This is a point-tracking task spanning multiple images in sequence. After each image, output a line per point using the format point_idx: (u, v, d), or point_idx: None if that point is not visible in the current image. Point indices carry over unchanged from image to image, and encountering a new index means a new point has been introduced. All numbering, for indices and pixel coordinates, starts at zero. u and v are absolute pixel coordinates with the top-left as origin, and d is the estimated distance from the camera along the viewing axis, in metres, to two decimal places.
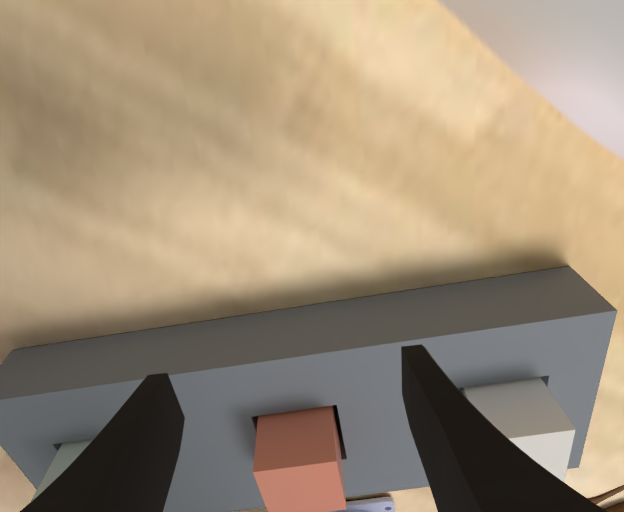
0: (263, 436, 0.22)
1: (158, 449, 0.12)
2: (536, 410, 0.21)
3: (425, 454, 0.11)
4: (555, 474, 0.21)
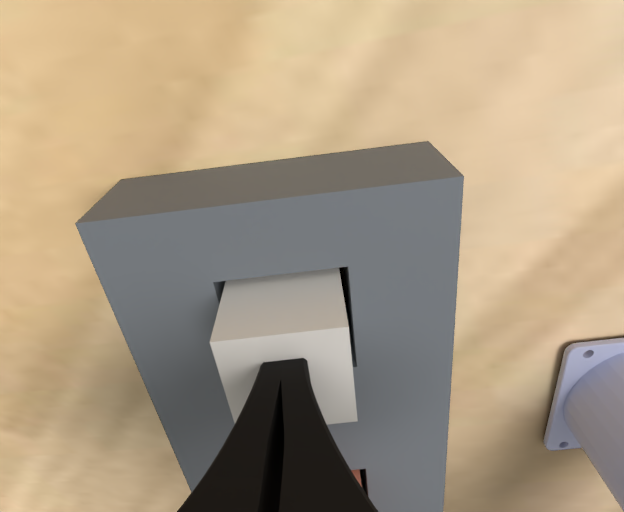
0: None
1: None
2: None
3: None
4: (325, 343, 0.12)
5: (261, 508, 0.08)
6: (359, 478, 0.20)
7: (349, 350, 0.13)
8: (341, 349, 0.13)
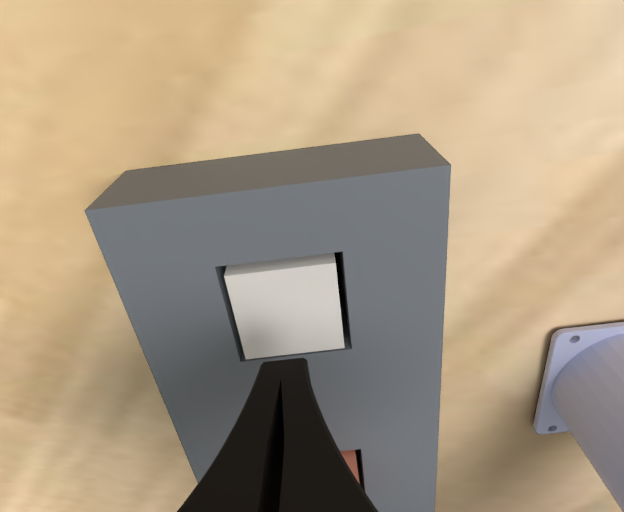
0: None
1: None
2: None
3: None
4: (317, 277, 0.15)
5: (261, 508, 0.08)
6: (355, 458, 0.21)
7: (336, 283, 0.16)
8: (329, 282, 0.16)
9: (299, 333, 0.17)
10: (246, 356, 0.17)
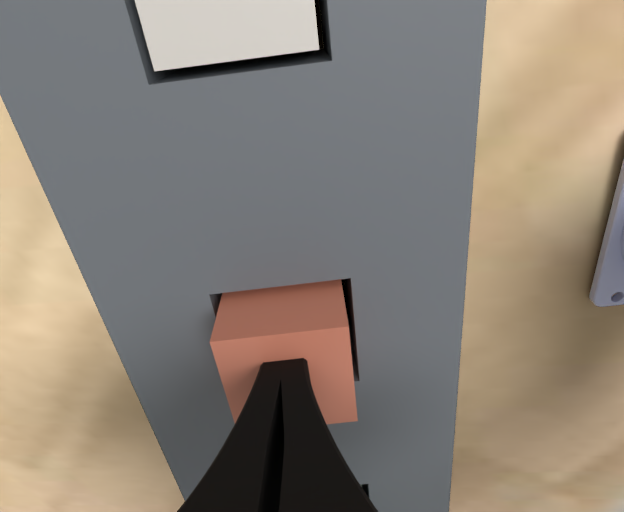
0: None
1: None
2: None
3: None
4: None
5: (261, 508, 0.08)
6: None
7: None
8: None
9: (241, 10, 0.10)
10: (155, 64, 0.10)
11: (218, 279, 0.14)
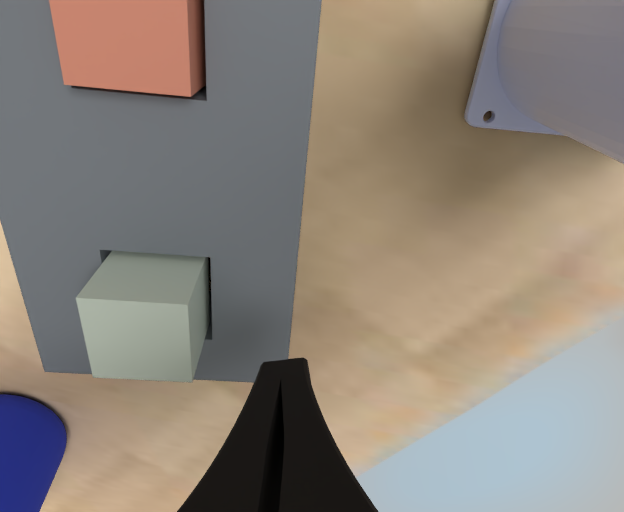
0: None
1: None
2: None
3: None
4: None
5: (261, 508, 0.08)
6: None
7: None
8: None
9: None
10: None
11: None
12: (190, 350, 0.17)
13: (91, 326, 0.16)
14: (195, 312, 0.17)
